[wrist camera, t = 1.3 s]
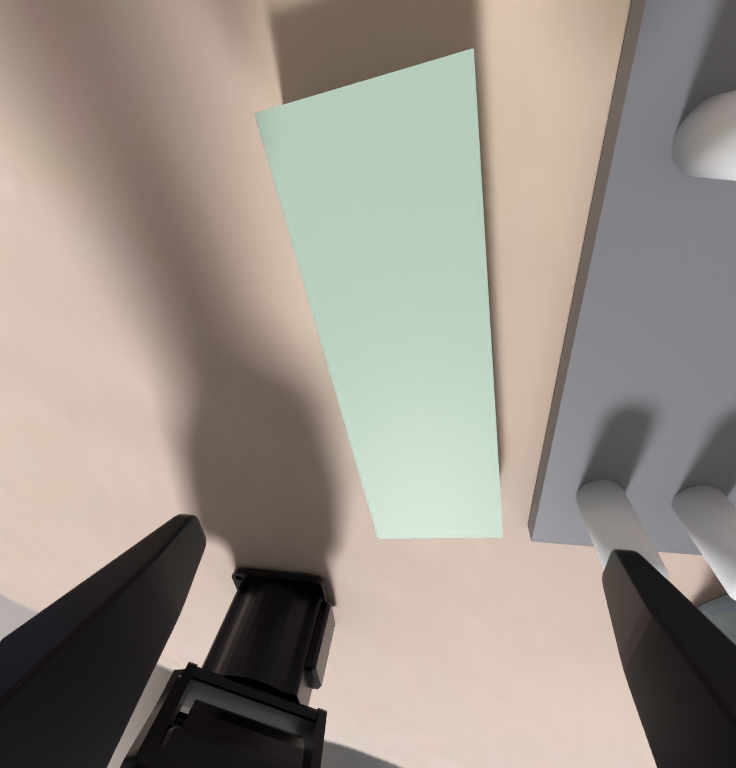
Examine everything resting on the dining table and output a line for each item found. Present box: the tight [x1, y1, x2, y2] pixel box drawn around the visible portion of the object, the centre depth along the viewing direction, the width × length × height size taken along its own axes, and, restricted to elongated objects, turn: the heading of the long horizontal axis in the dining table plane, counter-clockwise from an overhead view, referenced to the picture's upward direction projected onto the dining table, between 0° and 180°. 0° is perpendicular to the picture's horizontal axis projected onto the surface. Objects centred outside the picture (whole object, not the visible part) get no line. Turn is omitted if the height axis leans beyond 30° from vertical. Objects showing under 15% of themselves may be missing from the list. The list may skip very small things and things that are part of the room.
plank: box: [254, 48, 503, 539], centre depth 16 cm, size 6×18×3 cm, turn 12°
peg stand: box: [528, 0, 736, 601], centre depth 13 cm, size 9×21×5 cm, turn 4°
